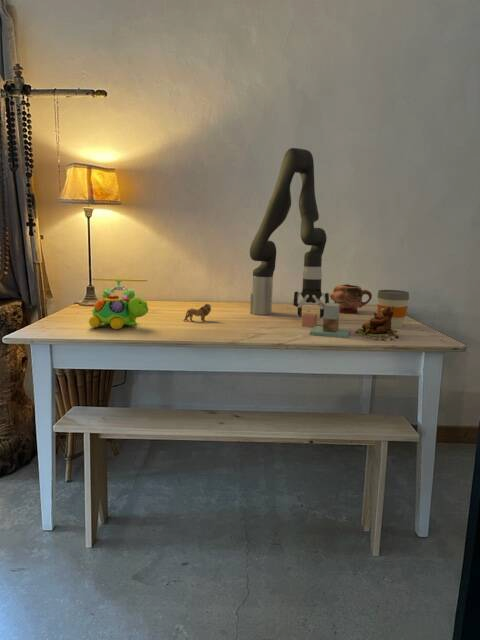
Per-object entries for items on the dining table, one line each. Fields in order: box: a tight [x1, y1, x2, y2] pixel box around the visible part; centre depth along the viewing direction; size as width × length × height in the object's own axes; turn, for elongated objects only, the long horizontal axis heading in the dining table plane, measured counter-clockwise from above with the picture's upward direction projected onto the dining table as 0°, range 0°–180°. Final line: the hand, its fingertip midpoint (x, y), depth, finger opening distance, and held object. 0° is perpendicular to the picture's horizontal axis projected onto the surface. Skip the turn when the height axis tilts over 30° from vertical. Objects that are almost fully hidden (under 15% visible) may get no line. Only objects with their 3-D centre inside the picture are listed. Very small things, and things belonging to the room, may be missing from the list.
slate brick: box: [323, 302, 340, 319], centre depth 185 cm, size 5×7×5 cm
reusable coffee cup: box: [376, 289, 410, 329], centre depth 201 cm, size 12×13×15 cm
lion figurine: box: [182, 303, 212, 323], centre depth 202 cm, size 12×4×7 cm, turn 110°
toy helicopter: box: [91, 278, 148, 300], centre depth 224 cm, size 25×9×15 cm, turn 93°
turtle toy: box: [88, 294, 149, 330], centre depth 189 cm, size 17×23×12 cm
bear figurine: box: [354, 306, 400, 342], centre depth 183 cm, size 14×15×12 cm
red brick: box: [301, 312, 318, 328], centre depth 199 cm, size 5×7×5 cm
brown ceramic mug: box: [329, 283, 373, 315], centre depth 230 cm, size 20×12×14 cm, turn 95°
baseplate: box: [309, 325, 351, 339], centre depth 186 cm, size 14×12×1 cm
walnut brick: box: [322, 316, 340, 332], centre depth 185 cm, size 5×7×5 cm
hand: (310, 317), depth 198 cm, fingers open, 8 cm apart
